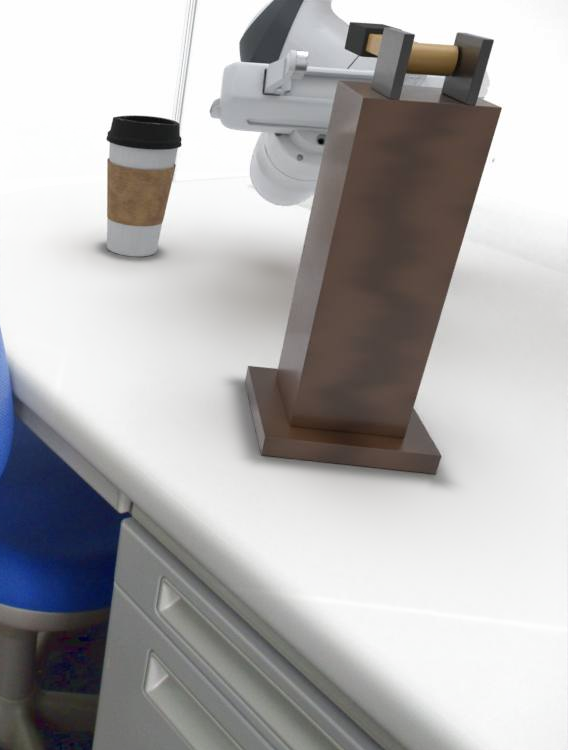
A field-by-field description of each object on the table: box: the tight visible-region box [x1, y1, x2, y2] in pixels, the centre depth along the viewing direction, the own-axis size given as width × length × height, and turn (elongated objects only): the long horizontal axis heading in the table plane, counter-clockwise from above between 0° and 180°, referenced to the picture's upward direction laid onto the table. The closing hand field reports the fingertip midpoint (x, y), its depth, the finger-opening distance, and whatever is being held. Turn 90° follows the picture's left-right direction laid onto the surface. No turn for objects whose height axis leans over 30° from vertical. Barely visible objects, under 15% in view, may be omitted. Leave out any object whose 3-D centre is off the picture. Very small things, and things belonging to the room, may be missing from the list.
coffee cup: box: [106, 114, 183, 258], centre depth 99 cm, size 8×8×15 cm
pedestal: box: [244, 27, 503, 475], centre depth 60 cm, size 12×12×28 cm
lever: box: [345, 21, 458, 77], centre depth 61 cm, size 4×18×2 cm, turn 173°
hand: (358, 63), depth 70 cm, fingers open, 8 cm apart
